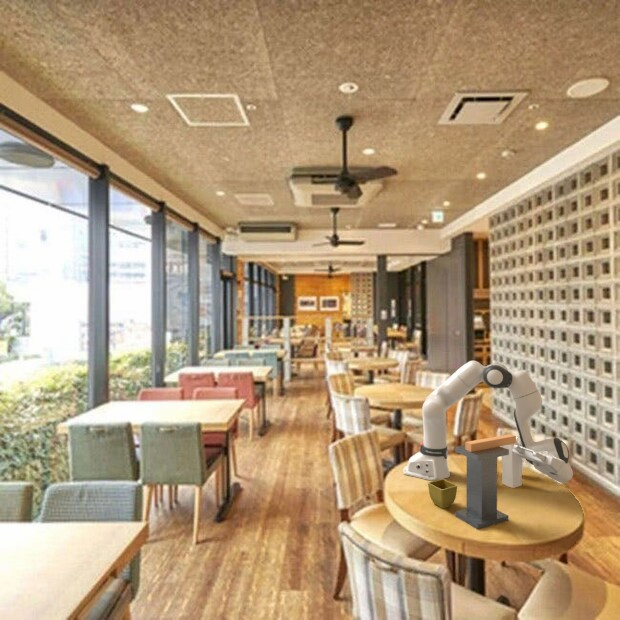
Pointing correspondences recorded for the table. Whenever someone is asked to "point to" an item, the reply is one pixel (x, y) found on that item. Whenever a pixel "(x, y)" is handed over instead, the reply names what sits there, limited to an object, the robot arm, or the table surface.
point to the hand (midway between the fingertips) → (524, 450)
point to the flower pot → (442, 492)
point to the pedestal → (482, 487)
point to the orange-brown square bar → (490, 442)
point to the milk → (511, 468)
